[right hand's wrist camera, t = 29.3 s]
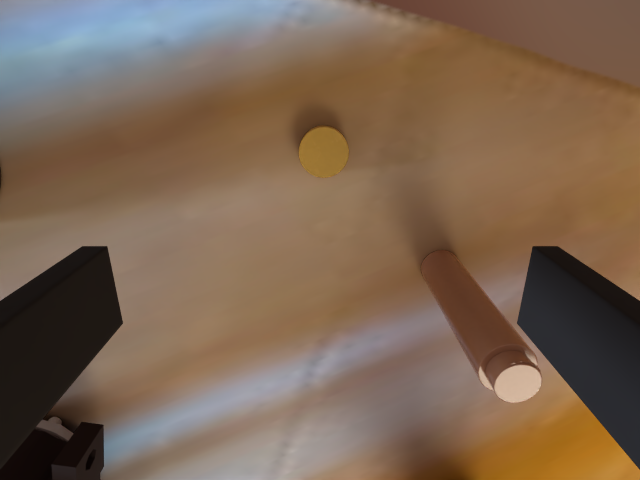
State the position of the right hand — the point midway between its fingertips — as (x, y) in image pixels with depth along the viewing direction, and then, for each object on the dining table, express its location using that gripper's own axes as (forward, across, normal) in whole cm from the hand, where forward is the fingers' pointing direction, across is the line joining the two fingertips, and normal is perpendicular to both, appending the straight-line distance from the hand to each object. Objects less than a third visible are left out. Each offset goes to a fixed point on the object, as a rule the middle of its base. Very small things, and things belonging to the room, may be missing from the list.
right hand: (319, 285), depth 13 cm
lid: (+28, 0, 0) cm, 28 cm away
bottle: (+30, +14, -13) cm, 35 cm away
